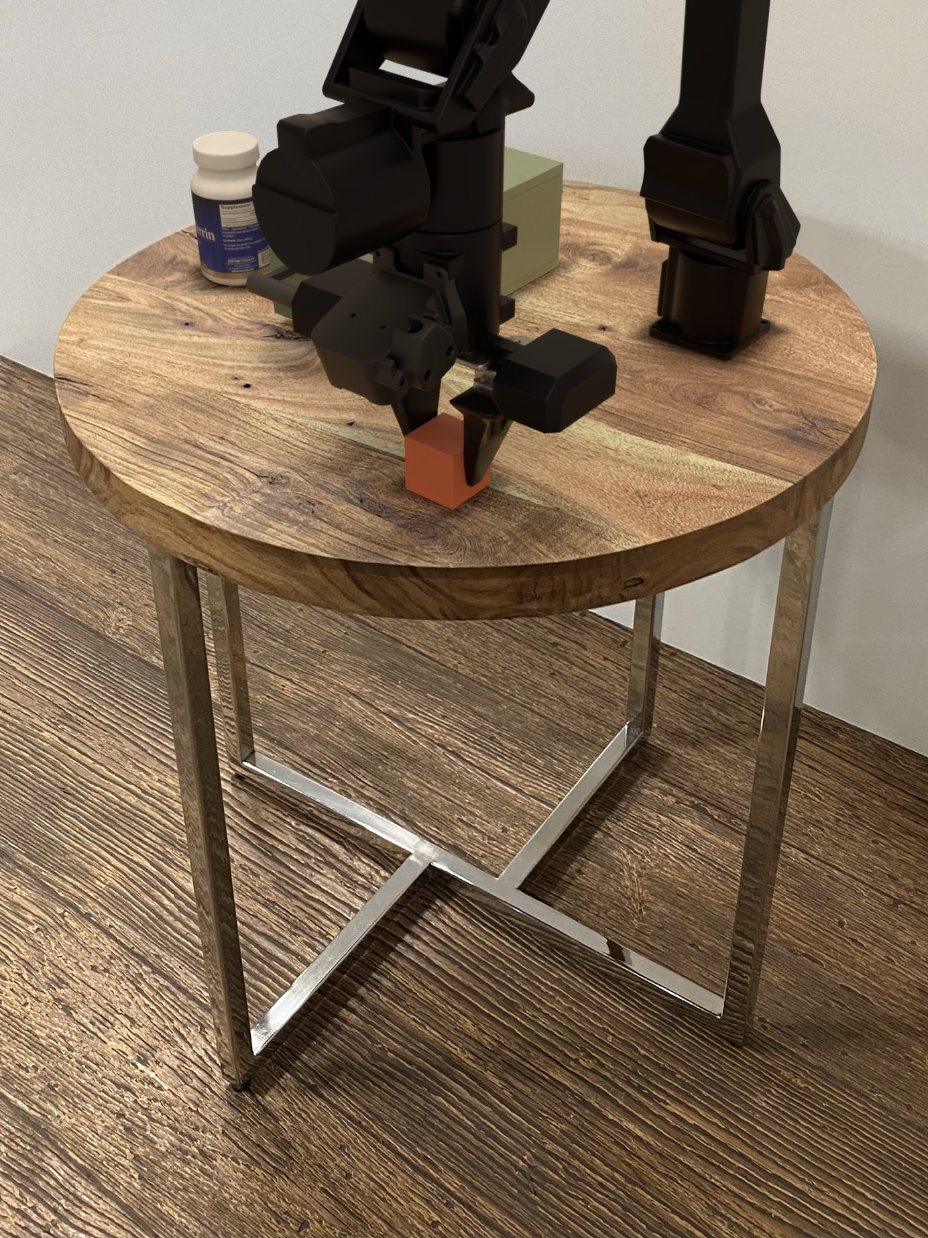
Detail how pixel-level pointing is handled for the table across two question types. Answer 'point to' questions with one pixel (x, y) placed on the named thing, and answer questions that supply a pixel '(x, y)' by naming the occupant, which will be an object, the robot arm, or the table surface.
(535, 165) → the cabinet
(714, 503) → the table surface
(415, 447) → the block
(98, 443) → the table surface
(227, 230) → the pill bottle
